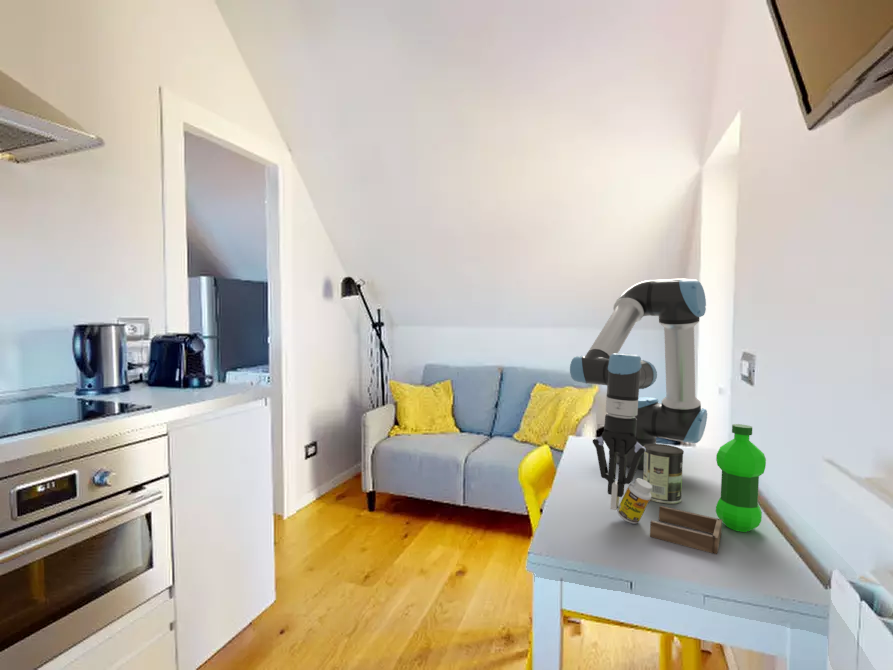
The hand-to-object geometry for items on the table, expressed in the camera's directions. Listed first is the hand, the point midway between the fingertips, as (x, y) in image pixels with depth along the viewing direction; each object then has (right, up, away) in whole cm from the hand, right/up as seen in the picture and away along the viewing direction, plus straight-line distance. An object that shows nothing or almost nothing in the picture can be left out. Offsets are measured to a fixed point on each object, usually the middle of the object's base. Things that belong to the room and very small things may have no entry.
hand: (614, 508), depth 118 cm
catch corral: (+14, -3, -8) cm, 16 cm away
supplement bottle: (+3, -2, -1) cm, 4 cm away
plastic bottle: (+29, -4, -3) cm, 30 cm away
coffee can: (+19, -3, +16) cm, 25 cm away
